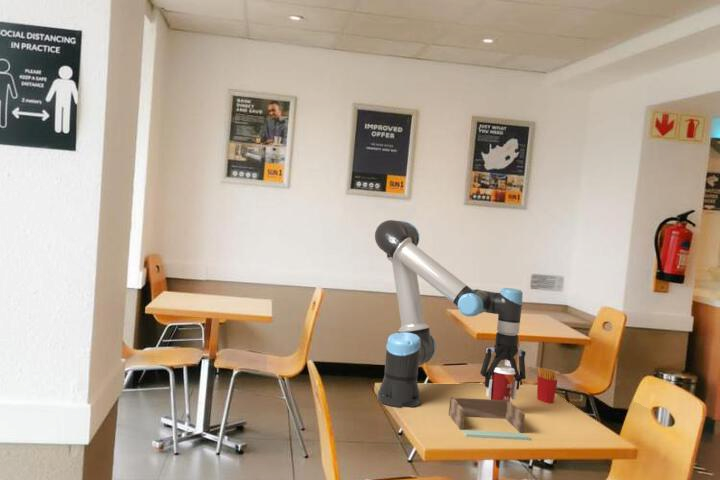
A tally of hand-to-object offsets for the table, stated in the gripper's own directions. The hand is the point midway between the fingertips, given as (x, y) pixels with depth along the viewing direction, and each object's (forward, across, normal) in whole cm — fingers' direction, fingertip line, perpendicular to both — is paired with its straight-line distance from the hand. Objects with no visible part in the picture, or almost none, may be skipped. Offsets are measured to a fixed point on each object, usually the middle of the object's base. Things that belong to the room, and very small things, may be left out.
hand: (500, 397), depth 213 cm
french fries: (+5, -24, -18) cm, 30 cm away
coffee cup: (+4, 0, 0) cm, 4 cm away
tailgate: (+4, +11, +24) cm, 27 cm away
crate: (+5, +11, +17) cm, 21 cm away
